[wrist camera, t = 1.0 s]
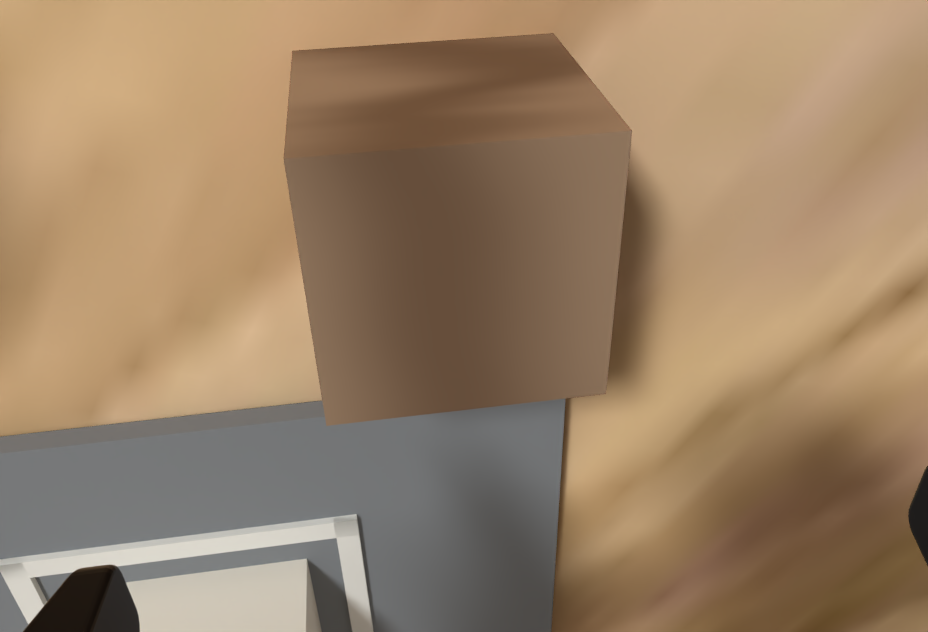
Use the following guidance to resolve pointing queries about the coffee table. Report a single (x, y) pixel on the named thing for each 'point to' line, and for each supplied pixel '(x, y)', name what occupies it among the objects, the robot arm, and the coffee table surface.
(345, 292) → the walnut cube
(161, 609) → the base block
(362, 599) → the grey flat rectangular panel
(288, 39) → the coffee table surface
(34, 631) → the robot arm
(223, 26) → the coffee table surface
